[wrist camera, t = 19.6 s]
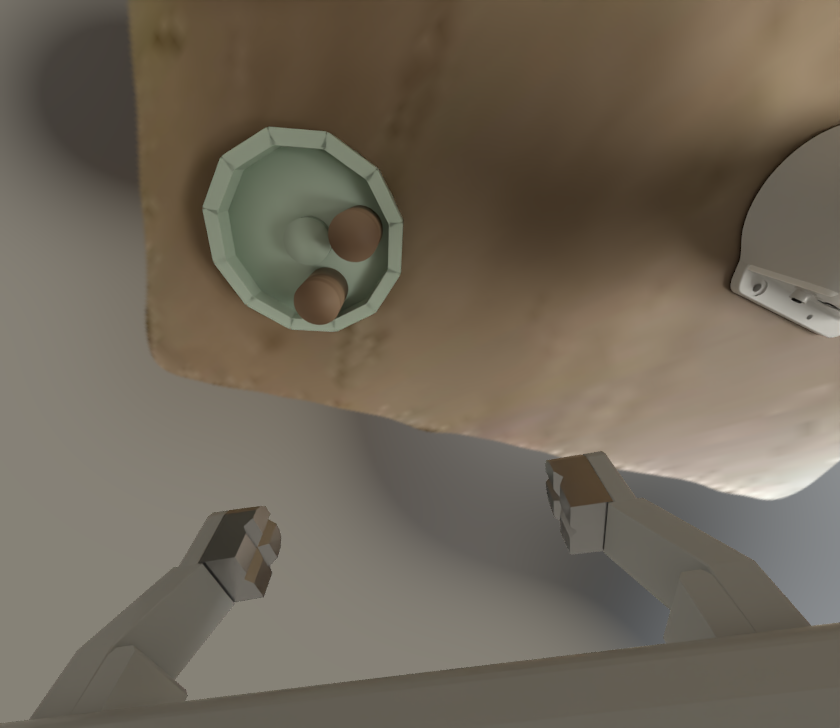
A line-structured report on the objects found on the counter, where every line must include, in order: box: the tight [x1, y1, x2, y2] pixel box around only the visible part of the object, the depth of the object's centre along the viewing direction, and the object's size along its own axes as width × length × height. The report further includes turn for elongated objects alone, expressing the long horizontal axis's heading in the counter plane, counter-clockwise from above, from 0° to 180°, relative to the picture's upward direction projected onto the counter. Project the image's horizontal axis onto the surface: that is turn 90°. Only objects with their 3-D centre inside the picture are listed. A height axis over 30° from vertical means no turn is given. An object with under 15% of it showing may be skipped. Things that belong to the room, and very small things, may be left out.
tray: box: [202, 127, 403, 332], centre depth 33 cm, size 17×17×3 cm
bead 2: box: [328, 205, 383, 262], centre depth 31 cm, size 4×4×5 cm
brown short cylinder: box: [294, 267, 348, 325], centre depth 34 cm, size 4×4×5 cm
